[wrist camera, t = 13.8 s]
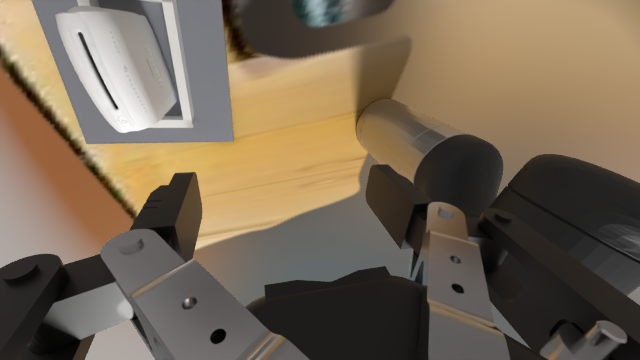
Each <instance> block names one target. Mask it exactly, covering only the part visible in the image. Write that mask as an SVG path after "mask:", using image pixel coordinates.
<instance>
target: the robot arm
mask: <svg viewBox="0 0 640 360" xmlns="http://www.w3.org/2000/svg"><path fill="white" fill-rule="evenodd" d="M356 134H357V139H358V141H359V143H360V144H361V145H362V146H363V147H364V148H365V149H366V150H367V151H368V152H369V153H370V154H371V155H372V156H373V157H374V158H375V159H376V160H377V161H378V162H379V163H380V164H381V165H372V167H371V169H370V173H369V178H368V183H367V189H366V201H367V203H368V205H369V206H370V208H371V209H372V211H373V212H374V213H375V215H376V216H377V217H378V219H379V220H380V221H381V223H382V224H383V226H384V227H385V228H386V230H387V231H388V232H389V234H390V235H391V237H392V238H393V240H394V241H395V242H396V244H397V245H398V246H399V248H400V249H406V248H413V252H412V255H411V260H410V268H409V275H408V279H406V278H403V277H398V276H391V275H390V273H389V272H388V270H387V268H386V267H385V266H384V267H377V268H371V269H364V270H358V271H356V272H353V273H351V274H349V275H347V276H344V277H342V278H340V279H337V280H335V281H333V282H321V281H304V280H295V281H288V282H282V283H276V284H269V285H265V296H263V297H261V298H259V299H257V300H255V301H253V302H251V303H250V304H248V305H247V306H246V307H244V306H243V305H242V304H241V303H240V302H239V301H238V300H237V299H236V298H235V297H234V296H233V295H232V294H231V293H230V292H229V291H227V290H226V289H225V288H224V287H223V286H222V285H221V284H220V283H219V282H218V281H217V280H216V279H215V278H214V277H213V276H212V275H211V274H210V273H209V272H208V271H207V270H206V269H205V268H203V267H202V266H201V265H200V264H199V263H198V262H197V261H196V260H194V259H192V258H193V254H194V250H195V245H196V241H197V236H198V232H199V228H200V223H201V219H202V203H201V197H200V191H199V186H198V180H197V175H196V173H195V172H189V173H175V174H174V176H173V178H172V180H171V182H170V184H169V185H163V186H160V187H158V188H157V189H156V190H154V191H153V192H152V193H151V194H150V196H149V197H148V199H147V201H146V203H145V204H144V206H143V209H141V211H140V213H139V214H138V216H137V218H136V220H135V221H134V223H133V225H132V227H131V228H130V230H129V231H127V232H124V233H121V234H119V235H117V236H115V237H113V238H112V239H111V240H109V241H108V242H107V243H106V244H105V245H104V246H103V247H102V249H101V252H100V254H98V255H95V256H93V257H89V258H86V259H82V260H79V261H75V262H72V263H68V264H65V265H63V263H62V261H61V259H60V258H59V257H58V256H56V255H53V254H38V255H33V256H29V257H25V258H22V259H19V260H17V261H14V262H12V263H10V264H8V265H6V266H4V267H2V268H0V360H85V357H86V355H87V353H88V350H89V348H90V345H91V343H92V341H93V338H94V336H95V334H96V333H98V332H100V331H102V330H105V329H107V328H109V327H112V326H114V325H117V324H119V323H121V322H124V321H126V320H129V319H130V320H131V322H132V324H133V325H134V327H135V328H136V330H137V332H138V333H139V335H140V336H141V338H142V340H143V341H144V342H145V344H146V346H147V347H148V349H149V350H150V352H151V354H152V355H153V357H154V358H155V360H640V305H638V304H637V303H635V302H634V301H633V300H631V299H630V298H629V297H627V295H628V294H630V293H631V292H632V291H634V290H635V289H636V288H637V287H639V286H640V183H638V182H635V181H633V180H631V179H628V178H627V177H624V176H622V175H620V174H617V173H615V172H613V171H610V170H607V169H605V168H602V167H599V166H597V165H594V164H591V163H588V162H585V161H581V160H579V159H576V158H571V157H567V156H562V155H556V154H543V155H538V156H536V157H534V158H532V159H531V160H530V161H528V162H527V163H526V164H525V165H524V167H523V168H522V169H521V170H520V171H519V172H518V173H517V174H516V175H515V177H514V178H513V179H512V180H511V181H510V182H509V184H508V186H509V187H508V186H506V187H505V188H504V189H503V191H502V192H501V193H500V194H499V195H498V197H497V193H498V189H499V186H500V182H501V179H502V175H503V160H502V157H501V155H500V153H499V151H498V150H497V149H496V148H495V147H494V146H493V145H492V144H490V143H488V142H487V141H485V140H482V139H480V138H478V137H476V136H473V135H471V134H468V133H466V132H464V131H462V130H460V129H457V128H455V127H453V126H450V125H448V124H446V123H444V122H441V121H439V120H437V119H435V118H433V117H430V116H428V115H426V114H424V113H421V112H419V111H417V110H415V109H413V108H410V107H408V106H406V105H404V104H402V103H400V102H397V101H395V100H392V99H380V100H377V101H375V102H373V103H372V104H370V105H369V106H368V107H367V108H366V109H365V110H364V111H363V112H362V114H361V115H360V117H359V119H358V122H357V126H356ZM496 197H497V198H496ZM490 301H491V302H492V303H493V305H494V306H495V307H496V308H497V309H498V311H499V312H500V313H501V314H502V315H503V317H504V318H505V319H506V320H507V321H508V322H509V323H510V325H511V326H512V327H513V328H514V329H515V331H516V332H517V333H518V334H519V335H520V336H521V338H522V339H523V340H524V341H525V342H526V343H527V344H528V346H529V347H530V348H531V349H532V350H531V349H530V348H528V347H526V346H525V345H523V344H521V343H520V342H518V341H516V340H514V339H513V338H511V337H509V336H507V335H506V334H504V333H503V332H501V330H499V329H498V328H497V327H496V326H495V323H494V318H493V313H492V308H491V304H490Z"/></svg>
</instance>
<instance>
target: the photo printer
mask: <svg viewBox="0 0 640 360" xmlns="http://www.w3.org/2000/svg"><path fill="white" fill-rule="evenodd" d="M55 17H56V22H57V26H58V30H59V33H60V36H61V39H62V42H63V44H64V47H65V49H66V52H67V54H68V56H69V58H70V61H71V63H72V65H73V67H74V70H75V71H76V73H77V75H78V76H79V79H80V81H81V82H82V84H83V86H84V87H85V89H86V91H87V93H88V94H89V96H90V97H91V99H92V101H93V102H94V104H95V105H96V107H97V108H98V109H99V111H100V112H101V114H102V115H103V116H104V118H105V119H106V120H107V121H108V122H109V124H110V125H111V126H112V127H113V128H114V129H115V130H117V131H118V132H120V133H126V132H130V131H140V130H143V129H146V128H148V127H150V126H153V125H155V124H156V123H158V122H159V121H160V119H161V118H162V117H163V116H164V115H165V114H166V113H167V112H168V111H169V110H170V109H171V107H172V106H173V105H174V104H175V103H176V101H177V98H176V92H175V89H174V85H173V82H172V79H171V77H170V74H169V71H168V68H167V65H166V63H165V60H164V57H163V55H162V52H161V50H160V47H159V45H158V42H157V40H156V37H155V35H154V33H153V30H152V28H151V26H150V24H149V22H148V20H147V19H146V17H145V16H143V15H138V14H136V13H133V12H127V11H121V10H114V9H106V8H99V7H93V6H76V7H73V8H71V9H69V10H68V11H67V12H64V13H58V14H56V15H55Z"/></svg>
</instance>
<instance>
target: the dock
mask: <svg viewBox="0 0 640 360" xmlns="http://www.w3.org/2000/svg"><path fill="white" fill-rule="evenodd" d="M32 3H33V5H34V8H35V11H36V13H37V16H38V18H39V21H40V24H41V26H42V29H43V31H44V34H45V37H46V39H47V42H48V44H49V47H50V50H51V52H52V55H53V57H54V60H55V63H56V65H57V68H58V70H59V73H60V76H61V78H62V81H63V83H64V86H65V89H66V91H67V94H68V96H69V99H70V102H71V104H72V107H73V109H74V112H75V115H76V117H77V120H78V122H79V125H80V128H81V130H82V133H83V135H84V138H85V141H86V143H87V144H114V143H177V142H234V133H233V122H232V111H231V100H230V88H229V77H228V66H227V55H226V43H225V32H224V21H223V10H222V0H32ZM76 6H93V7H99V8H106V9H114V10H121V11H127V12H133V13H136V14H138V15H143V16H145V17H146V19H147V20H148V22H149V24H150V26H151V28H152V30H153V33H154V35H155V37H156V40H157V42H158V45H159V47H160V50H161V52H162V55H163V57H164V60H165V63H166V65H167V68H168V71H169V74H170V77H171V79H172V82H173V85H174V89H175V92H176V98H177V101H176V103H175V104H174V105H173V106H172V107H171V109H170V110H169V111H168V112H167V113H166V114H165V115H164V116H163V117H162V118H161V119H160V121H159V122H158V123H156V124H155V125H153V126H150V127H148V128H146V129H143V130H140V131H130V132H126V133H120V132H118V131H117V130H115V129H114V128H113V127H112V126H111V125H110V124H109V122H108V121H107V120H106V119H105V118H104V116H103V115H102V114H101V112H100V111H99V109H98V108H97V107H96V105H95V104H94V102H93V101H92V99H91V97H90V96H89V94H88V93H87V91H86V89H85V87H84V86H83V84H82V82H81V81H80V79H79V76H78V75H77V73H76V71H75V70H74V67H73V65H72V63H71V61H70V58H69V56H68V54H67V52H66V49H65V47H64V44H63V42H62V39H61V36H60V33H59V30H58V26H57V22H56V17H55V15H56V14H58V13H64V12H67V11H68V10H69V9H71V8H73V7H76Z"/></svg>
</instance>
